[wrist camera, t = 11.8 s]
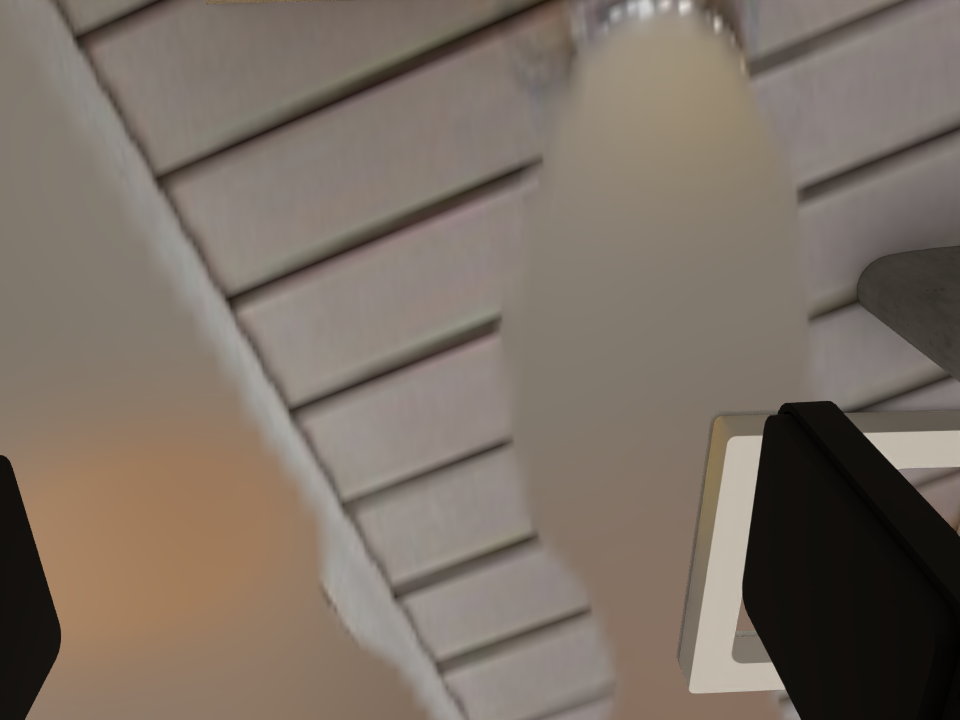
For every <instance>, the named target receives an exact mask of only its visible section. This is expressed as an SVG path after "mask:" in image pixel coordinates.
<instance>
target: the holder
mask: <svg viewBox="0 0 960 720" xmlns="http://www.w3.org/2000/svg"><path fill="white" fill-rule="evenodd" d="M778 411H779V410H752V411H751V410H748V411H718V412H715V413H714V414H713V415H712V417H711V422H710V428H709V436H708V442H707V449H706V456H705V463H704V470H703V476H702V483H701V491H700V497H699V504H698V511H697V518H696V525H695V532H694V539H693V546H692V553H691V560H690V566H689V573H688V580H687V587H686V594H685V601H684V608H683V615H682V621H681V628H680V635H679V642H678V649H677V659H678V662H679V664H680V667H681V670H682V672H683V675H684V678H685V680H686V683H687V685H688V688H689V691H690V692H691V693H717V692H738V691H760V690H782V689H785V687H784V685H783V683H782V681H781V679H780V677H779V675H778V673H777V671H776V669H775V667H774V665H773V663H772V661H771V659H770V657H769V655H768V653H767V651H766V649H765V647H764V645H763V643H762V641H761V639H760V637H759V635H758V634H757V632H756V630H753V631H736V625H737V620H738V614H739V609H740V603H741V598H742V580H743V573H744V566H745V559H746V552H747V544H748V537H749V530H750V523H751V516H752V509H753V502H754V494H755V487H756V480H757V473H758V466H759V459H760V452H761V444H762V437H763V430H764V425H765V421H766V419H767V417H768V416H770V415H778ZM844 414H845V415H846V416H847V417H848V418H849V419H850V420H851V421H852V422H853V423H854V425H855V426H856V427H857V428H858V429H859V430H860V431H861V432H862V433H863V434H864V435H865V436H866V437H867V438H868V439H869V440H870V441H871V443H872V444H873V445H874V446H875V447H876V448H877V449H878V450H879V451H880V452H881V453H882V454H883V455H884V456H885V457H886V458H887V459H888V461H889V462H890V463H891V464H892V465H893V466H894V467H895V468H896V469H901V468H930V467H960V410H948V411H905V412H862V413H844ZM957 534H958V535H959V536H960V524H959V527H958V531H957Z"/></svg>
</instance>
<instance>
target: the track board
mask: <svg viewBox="0 0 960 720" xmlns="http://www.w3.org/2000/svg"><path fill="white" fill-rule="evenodd" d="M300 1H339V0H206V4H222V3H261V2H300Z"/></svg>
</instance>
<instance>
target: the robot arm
mask: <svg viewBox="0 0 960 720" xmlns="http://www.w3.org/2000/svg"><path fill="white" fill-rule="evenodd" d="M742 595H743V601H744V605H745V609H746V611H747V614H748V616H749V618H750V620H751V622H752V624H753V625H754V628H755V630H756V632H757V634H758V635H759V637H760V639H761V641H762V643H763V645H764V647H765V649H766V651H767V653H768V655H769V657H770V659H771V661H772V663H773V665H774V667H775V669H776V671H777V673H778V675H779V677H780V679H781V681H782V683H783V685H784V687H785V689H786V691H787V693H788V695H789V697H790V699H791V701H792V703H793V705H794V707H795V708H796V710H797V712H798V714H799V716H800V718H801V720H960V536H959V535H958V534H957V533H956V531H955V530H954V529H953V528H952V527H951V526H950V525H949V524H948V523H947V522H946V521H945V520H944V519H943V518H942V517H941V516H940V515H939V513H938V512H937V511H936V510H935V509H934V508H933V507H932V506H931V505H930V504H929V503H928V502H927V501H926V500H925V499H924V498H923V497H922V495H921V494H920V493H919V492H918V491H917V490H916V489H915V488H914V487H913V486H912V485H911V484H910V483H909V482H908V481H907V480H906V479H905V477H904V476H903V475H902V474H901V473H900V472H899V471H898V470H897V469H896V468H895V467H894V466H893V465H892V464H891V463H890V462H889V461H888V459H887V458H886V457H885V456H884V455H883V454H882V453H881V452H880V451H879V450H878V449H877V448H876V447H875V446H874V445H873V444H872V443H871V441H870V440H869V439H868V438H867V437H866V436H865V435H864V434H863V433H862V432H861V431H860V430H859V429H858V428H857V427H856V426H855V425H854V423H853V422H852V421H851V420H850V419H849V418H848V417H847V416H846V415H845V414H844V413H843V412H842V411H841V410H840V409H839V408H838V407H837V405H836V404H834V403H833V402H831V401H816V402H797V403H785V404H783V405H782V406H781V408H780V410H779V411H778V415H770V416H768V417H767V419H766V421H765V425H764V430H763V437H762V444H761V452H760V459H759V466H758V473H757V480H756V487H755V494H754V502H753V509H752V516H751V523H750V530H749V537H748V544H747V552H746V559H745V566H744V573H743V580H742ZM60 643H61V629H60V624H59V620H58V617H57V614H56V610H55V607H54V604H53V600H52V597H51V594H50V591H49V587H48V584H47V581H46V577H45V574H44V571H43V567H42V564H41V561H40V558H39V554H38V551H37V547H36V544H35V541H34V538H33V534H32V531H31V528H30V524H29V521H28V518H27V515H26V511H25V508H24V504H23V501H22V498H21V495H20V491H19V488H18V484H17V481H16V478H15V474H14V471H13V468H12V466H11V463H10V461H9V460H8V459H7V457H5V456H3V455H0V720H25V718H26V716H27V714H28V712H29V710H30V708H31V706H32V704H33V702H34V701H35V699H36V697H37V695H38V693H39V691H40V689H41V687H42V685H43V683H44V681H45V679H46V677H47V675H48V674H49V672H50V670H51V668H52V666H53V664H54V662H55V660H56V658H57V655H58V653H59V649H60Z"/></svg>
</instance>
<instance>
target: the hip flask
mask: <svg viewBox="0 0 960 720" xmlns="http://www.w3.org/2000/svg"><path fill="white" fill-rule="evenodd" d="M857 296H858V299H859V302H860V303H861V305H862V306H863V307H864V308H865V309H866V310H868V311H869V312H870V313H872V314H873V315H874V316H875V317H877V318H878V319H879V320H881V321H882V322H883V323H884V324H886V325H887V326H888V327H890V328H891V329H892V330H893V331H895V332H896V333H897V334H899V335H900V336H901V337H902V338H904V339H905V340H906V341H908V342H909V343H910V344H912V345H913V346H914V347H915V348H917V349H918V350H919V351H921V352H922V353H923V354H924V355H926V356H927V357H928V358H930V359H931V360H932V361H933V362H935V363H936V364H937V365H939V366H940V367H941V368H942V369H944V370H945V371H946V372H948V373H949V374H950V375H952V376H953V377H954V378H955V379H957V380H958V381H959V382H960V246H956V247H944V248H933V249H926V250H918V251H911V252H905V253H899V254H893V255H888V256H884V257H882V258H880V259H877V260H876V261H874V262H873V263H871V264H870V265H869V266H868V267H867V268H866V269H865V271H864V272H863V273H862V275H861V277H860V279H859V282H858V286H857Z"/></svg>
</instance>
